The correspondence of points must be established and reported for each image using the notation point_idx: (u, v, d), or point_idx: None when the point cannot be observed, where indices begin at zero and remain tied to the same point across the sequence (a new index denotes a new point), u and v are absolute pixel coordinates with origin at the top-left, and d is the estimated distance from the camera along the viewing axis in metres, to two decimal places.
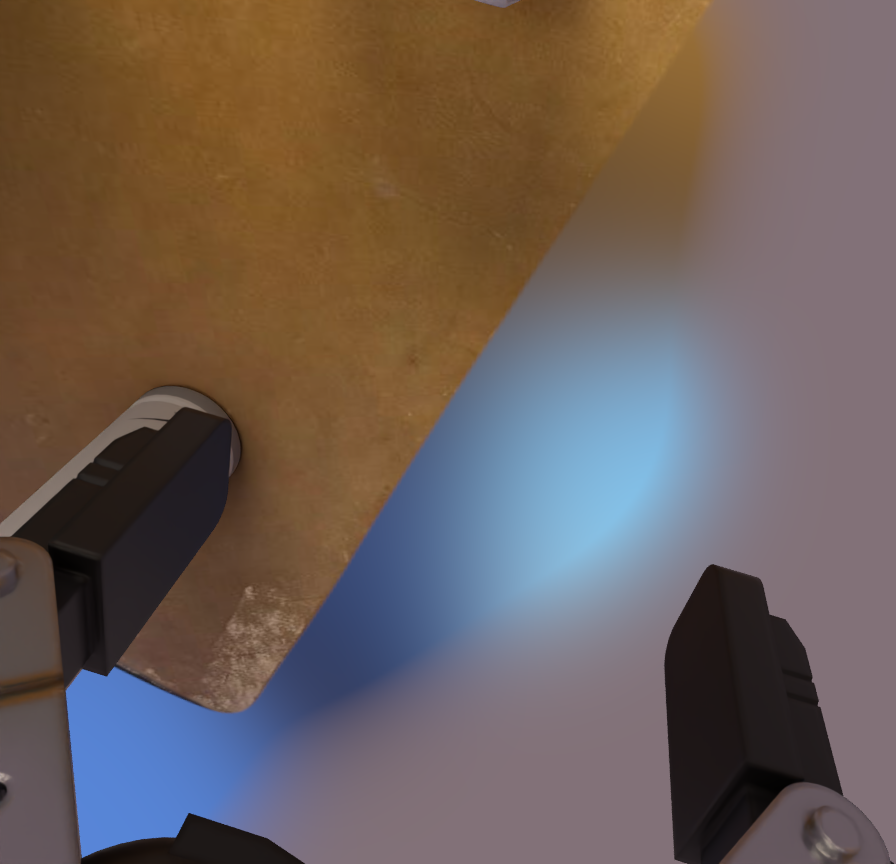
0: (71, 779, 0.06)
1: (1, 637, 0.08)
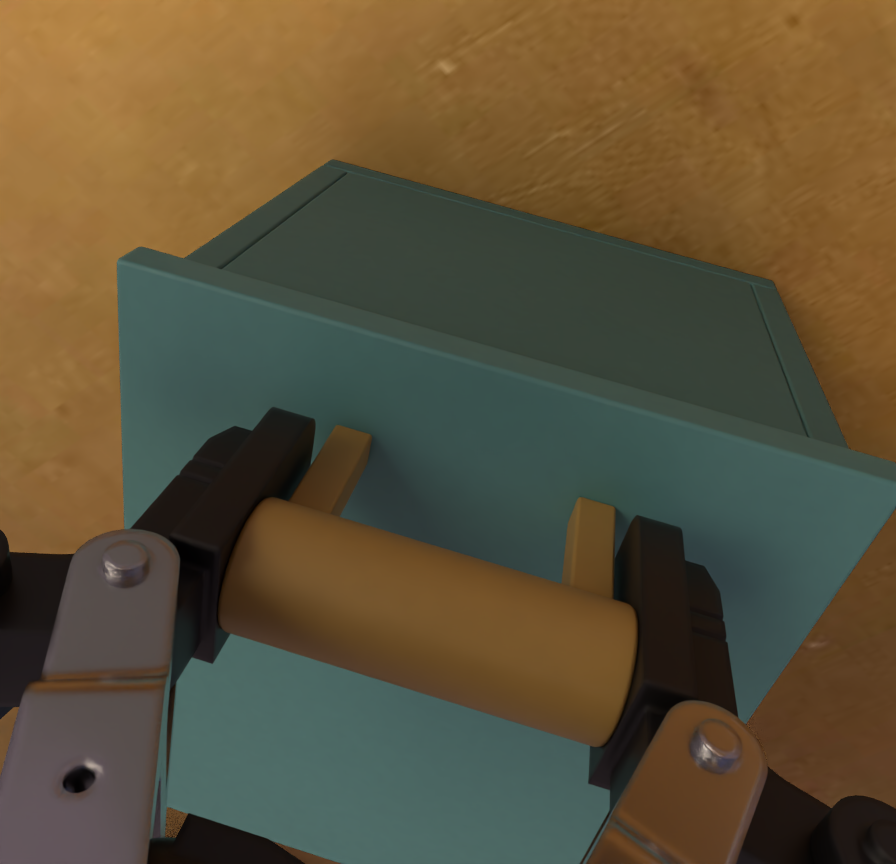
0: (154, 780, 0.07)
1: (122, 626, 0.08)
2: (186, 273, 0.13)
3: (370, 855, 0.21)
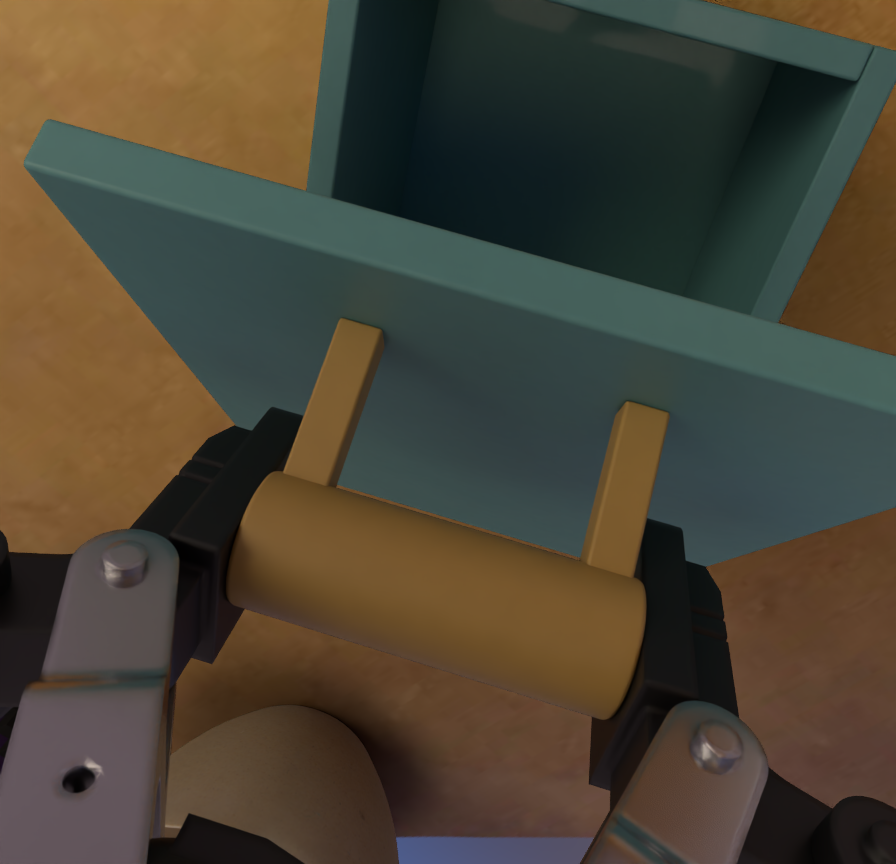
0: (153, 780, 0.07)
1: (121, 626, 0.08)
2: (111, 175, 0.10)
3: (468, 519, 0.25)
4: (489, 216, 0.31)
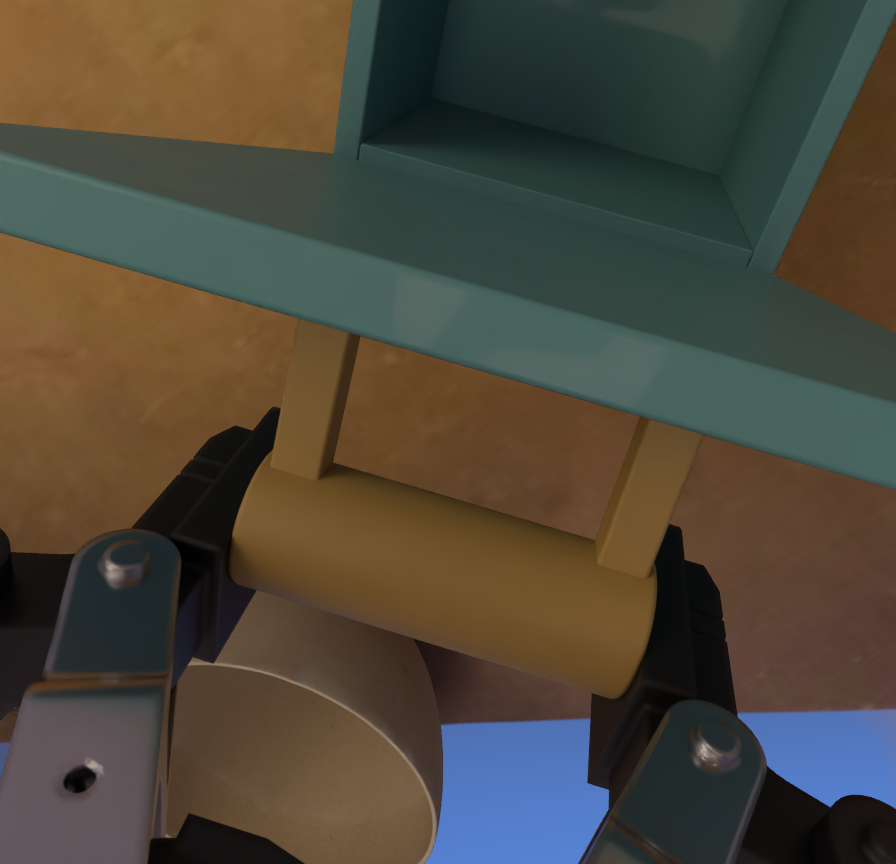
0: (154, 780, 0.07)
1: (123, 626, 0.08)
2: None
3: None
4: None
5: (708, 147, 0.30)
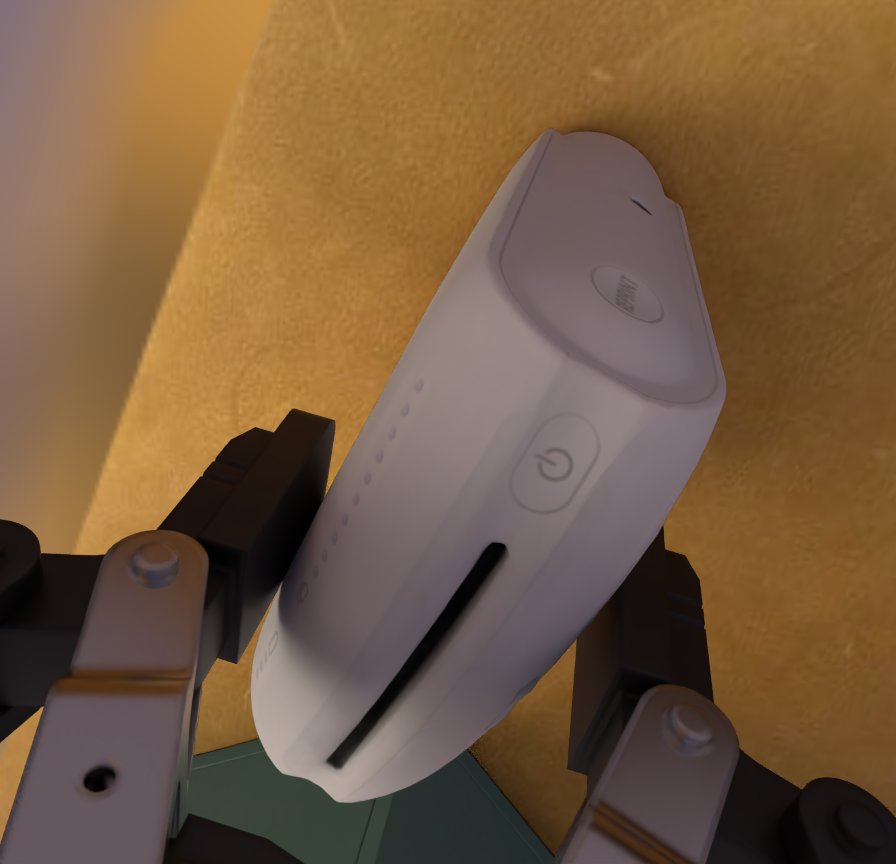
0: (172, 783, 0.07)
1: (149, 626, 0.08)
2: None
3: None
4: None
5: None
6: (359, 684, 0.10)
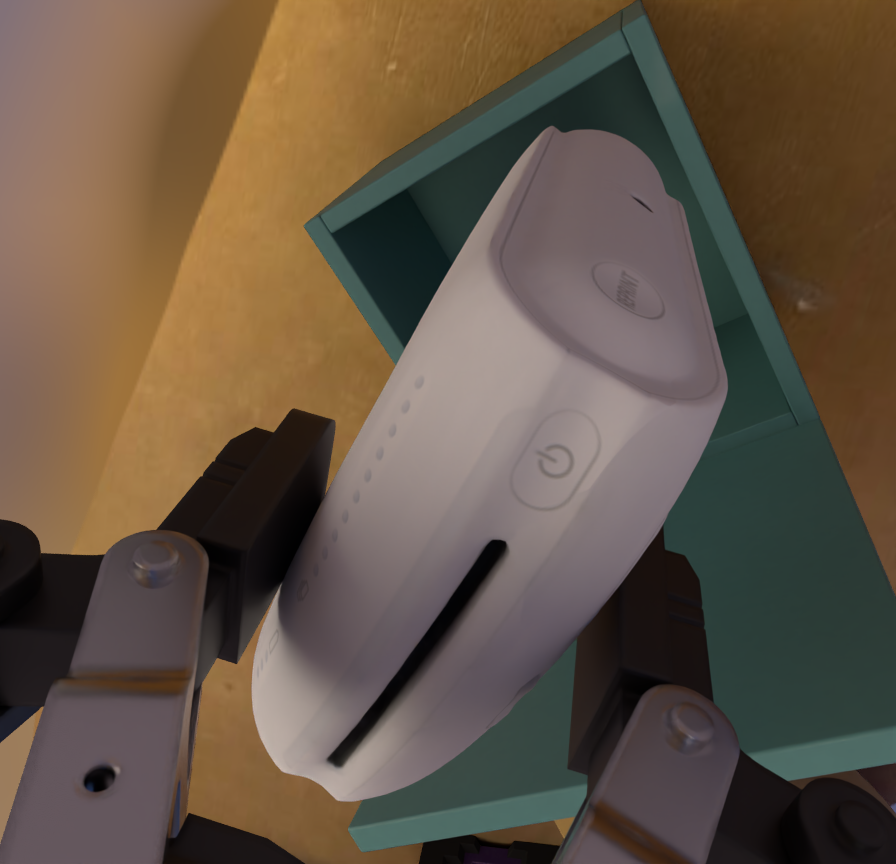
0: (172, 783, 0.07)
1: (149, 626, 0.08)
2: (395, 841, 0.19)
3: None
4: None
5: (731, 301, 0.37)
6: (360, 682, 0.10)
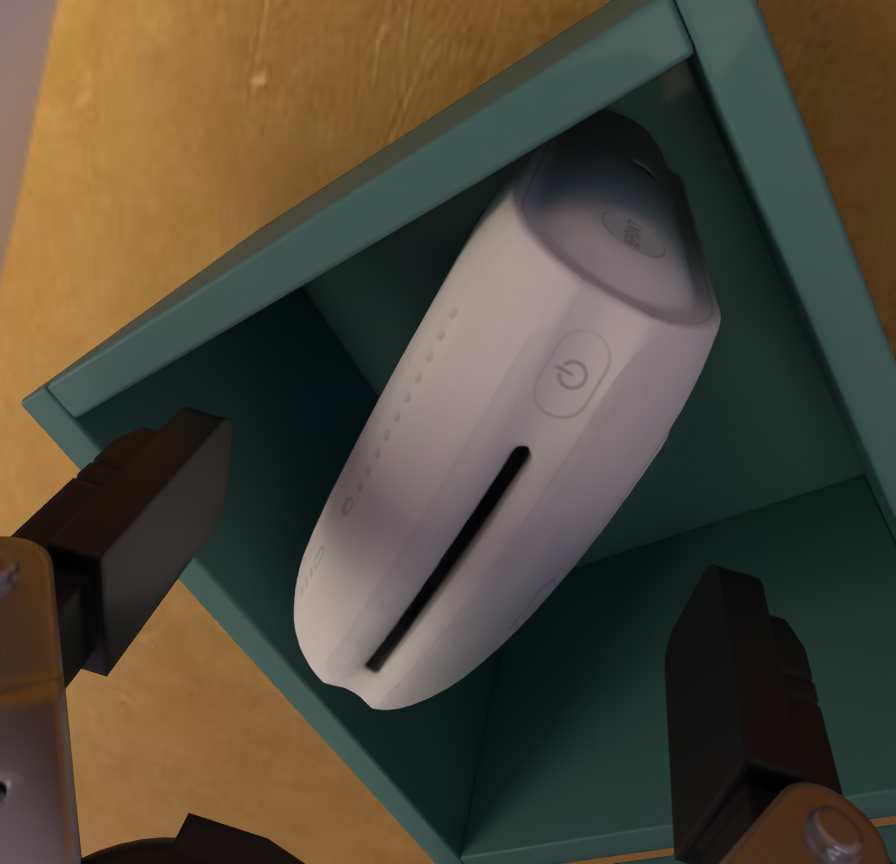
0: (71, 779, 0.06)
1: (1, 637, 0.08)
2: None
3: None
4: None
5: (827, 459, 0.23)
6: (399, 580, 0.12)
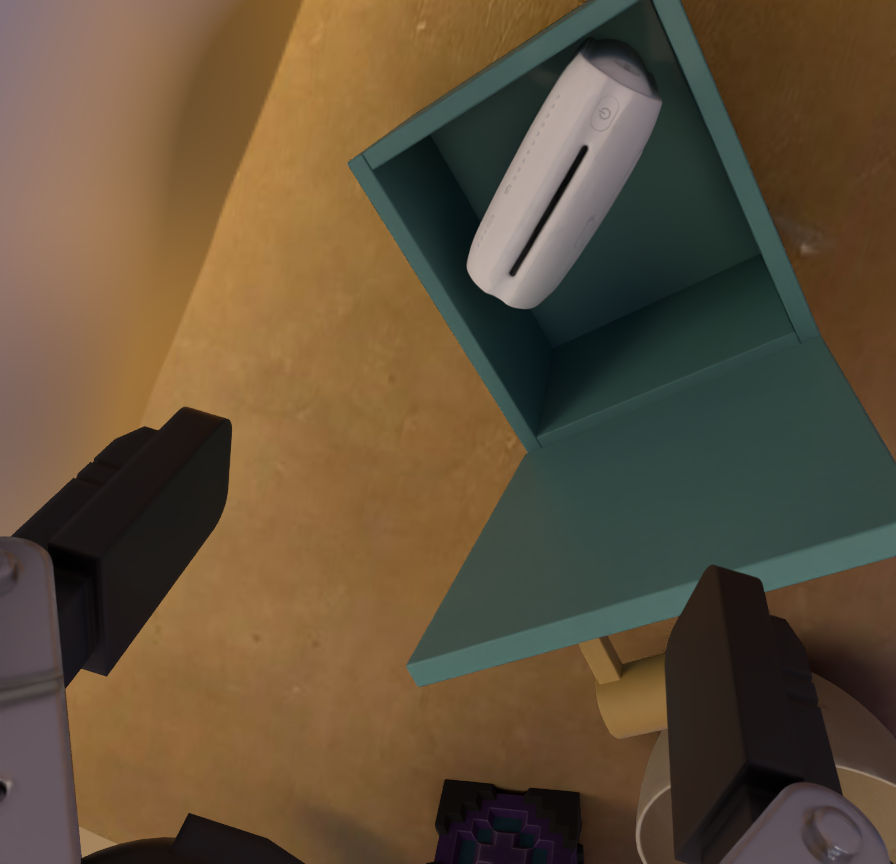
0: (71, 779, 0.06)
1: (1, 637, 0.08)
2: (449, 673, 0.21)
3: None
4: None
5: (738, 245, 0.40)
6: (533, 210, 0.29)
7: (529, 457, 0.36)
